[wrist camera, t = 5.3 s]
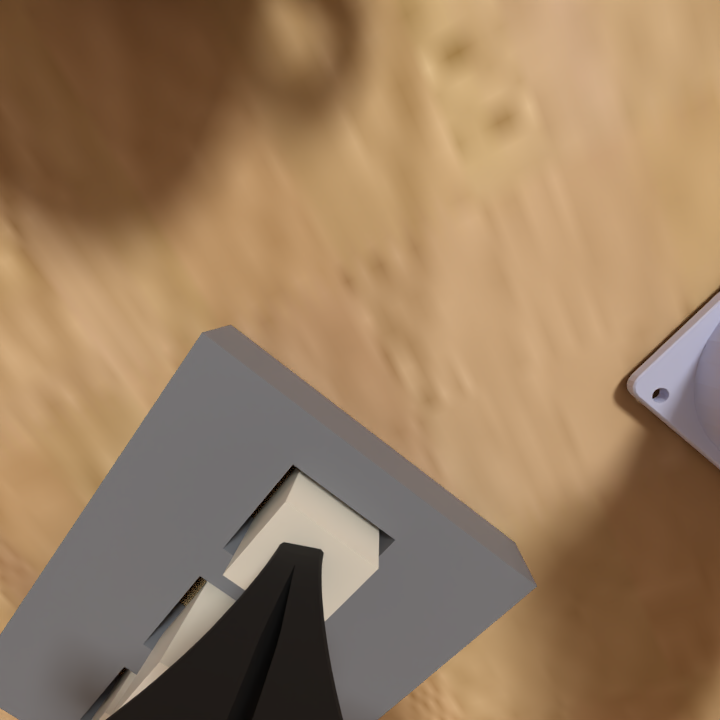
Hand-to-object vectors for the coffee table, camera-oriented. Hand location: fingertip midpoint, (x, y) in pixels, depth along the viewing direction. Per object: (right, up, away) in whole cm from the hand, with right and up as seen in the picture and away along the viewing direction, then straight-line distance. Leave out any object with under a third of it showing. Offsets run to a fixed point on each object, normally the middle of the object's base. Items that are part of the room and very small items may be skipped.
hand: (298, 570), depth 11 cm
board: (-4, -4, +4) cm, 7 cm away
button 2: (0, +1, +3) cm, 3 cm away
